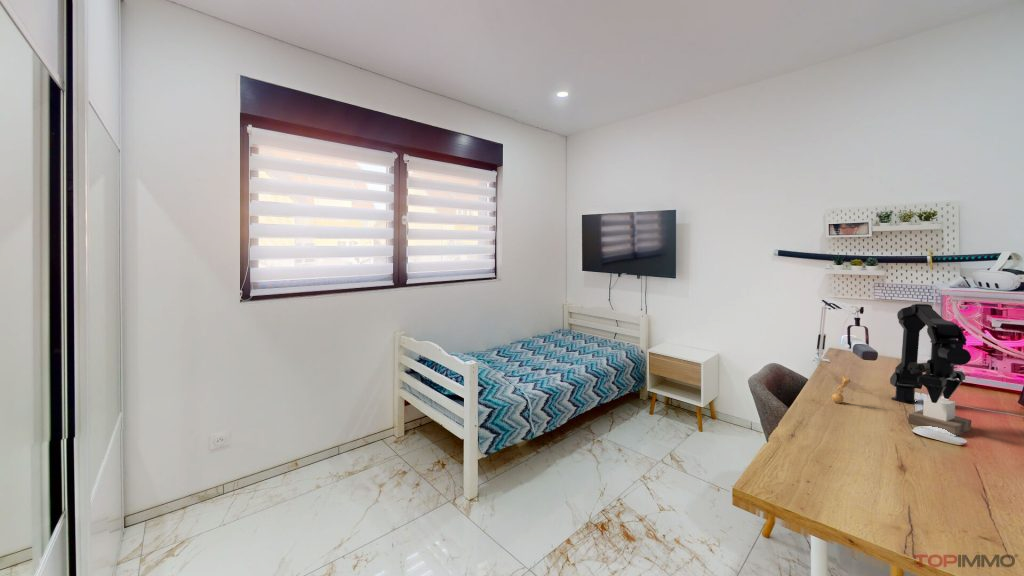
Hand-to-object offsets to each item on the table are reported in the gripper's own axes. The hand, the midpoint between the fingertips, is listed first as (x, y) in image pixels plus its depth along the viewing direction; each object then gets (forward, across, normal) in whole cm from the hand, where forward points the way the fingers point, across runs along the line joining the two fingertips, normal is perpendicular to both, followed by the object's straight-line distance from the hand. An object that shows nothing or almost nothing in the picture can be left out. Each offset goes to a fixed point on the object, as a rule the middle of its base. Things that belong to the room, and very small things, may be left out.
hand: (940, 400), depth 140 cm
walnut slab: (+10, 0, 0) cm, 10 cm away
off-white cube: (+6, 0, 0) cm, 6 cm away
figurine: (+10, +5, -28) cm, 30 cm away
